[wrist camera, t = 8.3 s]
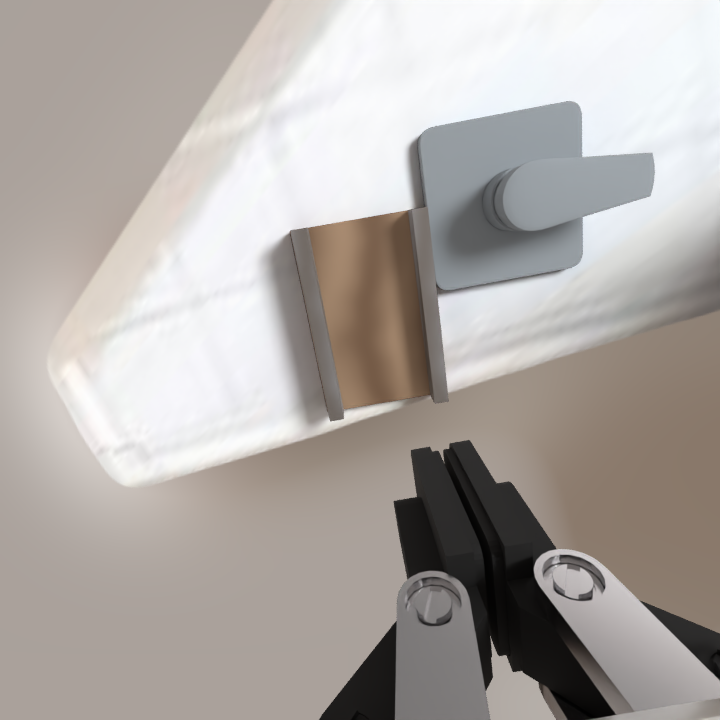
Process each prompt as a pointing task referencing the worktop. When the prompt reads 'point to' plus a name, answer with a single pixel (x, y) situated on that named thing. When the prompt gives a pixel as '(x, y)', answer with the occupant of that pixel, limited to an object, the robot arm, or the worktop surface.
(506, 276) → the shower valve
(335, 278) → the stand
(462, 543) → the robot arm
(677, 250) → the worktop surface
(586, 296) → the worktop surface
